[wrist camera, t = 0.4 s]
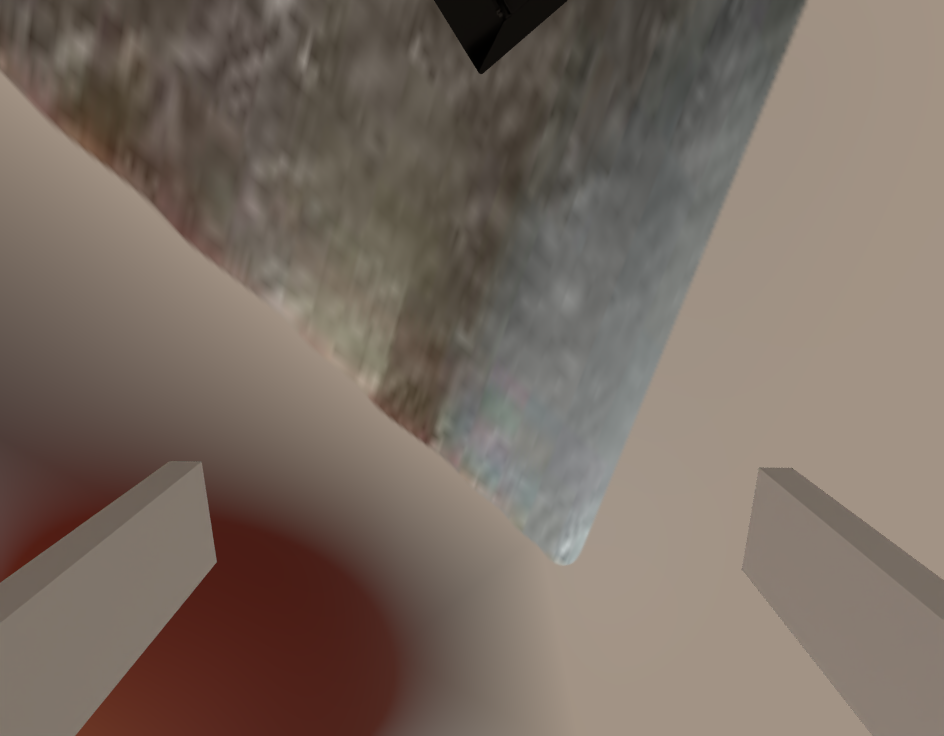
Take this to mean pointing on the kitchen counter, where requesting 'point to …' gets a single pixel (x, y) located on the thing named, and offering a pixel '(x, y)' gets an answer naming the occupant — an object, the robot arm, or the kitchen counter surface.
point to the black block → (494, 25)
